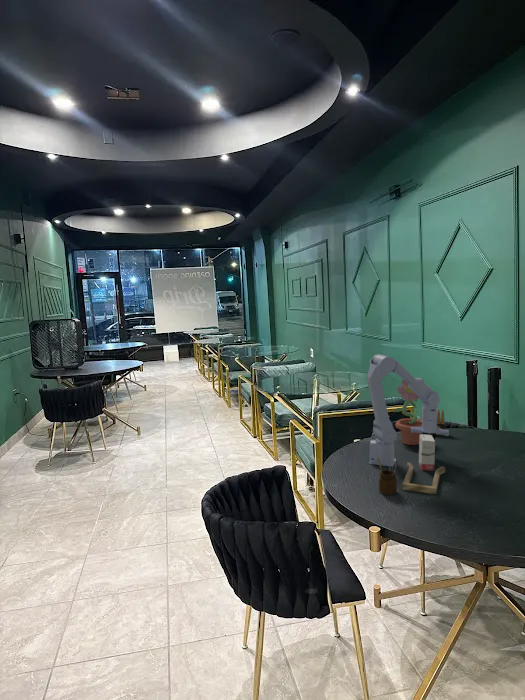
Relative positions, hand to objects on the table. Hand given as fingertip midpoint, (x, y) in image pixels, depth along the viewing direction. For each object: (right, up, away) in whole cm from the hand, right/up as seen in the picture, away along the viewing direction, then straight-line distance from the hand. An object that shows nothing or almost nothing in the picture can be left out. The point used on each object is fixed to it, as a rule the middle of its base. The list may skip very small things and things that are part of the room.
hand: (429, 450), depth 187 cm
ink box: (-4, -4, -9) cm, 11 cm away
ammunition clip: (+13, +1, +32) cm, 34 cm away
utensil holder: (-26, -8, -30) cm, 40 cm away
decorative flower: (-2, -1, +19) cm, 19 cm away
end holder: (-10, -6, -21) cm, 25 cm away
